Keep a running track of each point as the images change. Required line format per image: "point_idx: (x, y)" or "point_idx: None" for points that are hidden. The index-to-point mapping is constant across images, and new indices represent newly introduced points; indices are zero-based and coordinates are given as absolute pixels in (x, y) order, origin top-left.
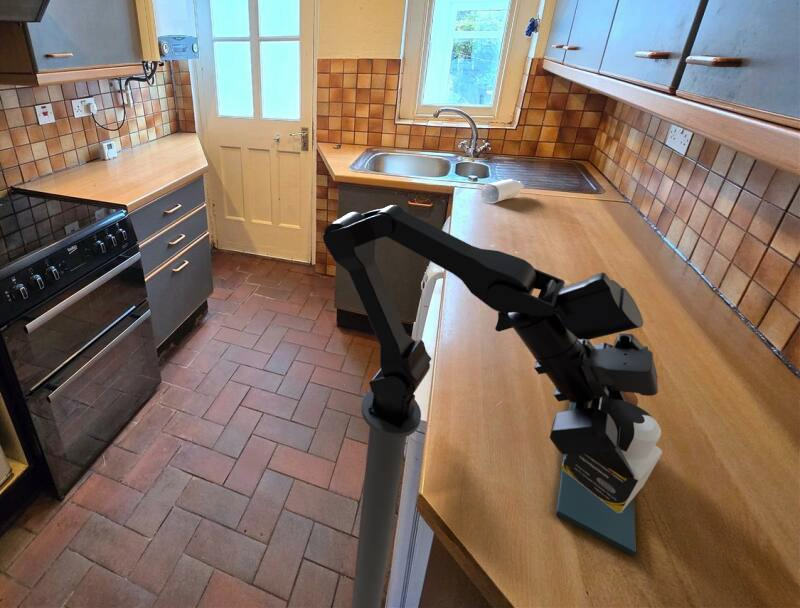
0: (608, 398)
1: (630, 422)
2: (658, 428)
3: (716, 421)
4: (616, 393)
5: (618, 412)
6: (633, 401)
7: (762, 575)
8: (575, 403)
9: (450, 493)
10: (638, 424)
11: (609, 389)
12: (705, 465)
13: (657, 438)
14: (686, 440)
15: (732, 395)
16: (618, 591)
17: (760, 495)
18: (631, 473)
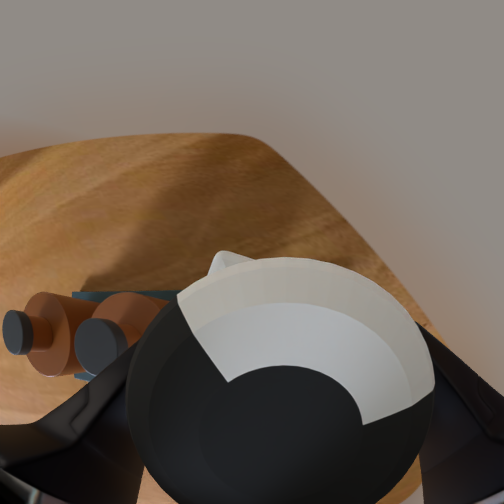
0: (121, 448)
1: (375, 437)
2: (274, 273)
3: (41, 198)
4: (90, 442)
5: (315, 501)
6: (47, 300)
7: (244, 152)
8: (82, 373)
9: (391, 490)
10: (367, 397)
11: (91, 470)
12: (103, 203)
13: (358, 275)
14: (74, 223)
15: (13, 190)
16: (399, 293)
17: (123, 156)
18: (427, 331)
